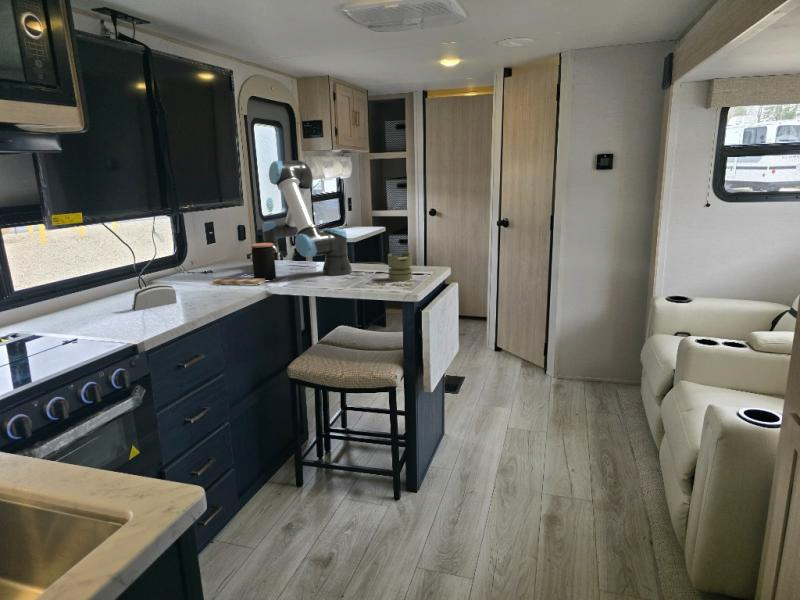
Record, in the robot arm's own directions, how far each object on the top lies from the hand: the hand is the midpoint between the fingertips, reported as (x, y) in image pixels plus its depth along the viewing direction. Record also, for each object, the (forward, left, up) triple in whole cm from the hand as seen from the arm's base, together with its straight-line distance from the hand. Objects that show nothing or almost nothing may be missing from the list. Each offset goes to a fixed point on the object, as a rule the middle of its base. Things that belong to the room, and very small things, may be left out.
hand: (264, 257), depth 270 cm
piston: (-71, +1, -10) cm, 72 cm away
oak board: (+6, +17, -10) cm, 21 cm away
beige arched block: (+18, +63, -10) cm, 66 cm away
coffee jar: (-3, +7, -10) cm, 13 cm away
